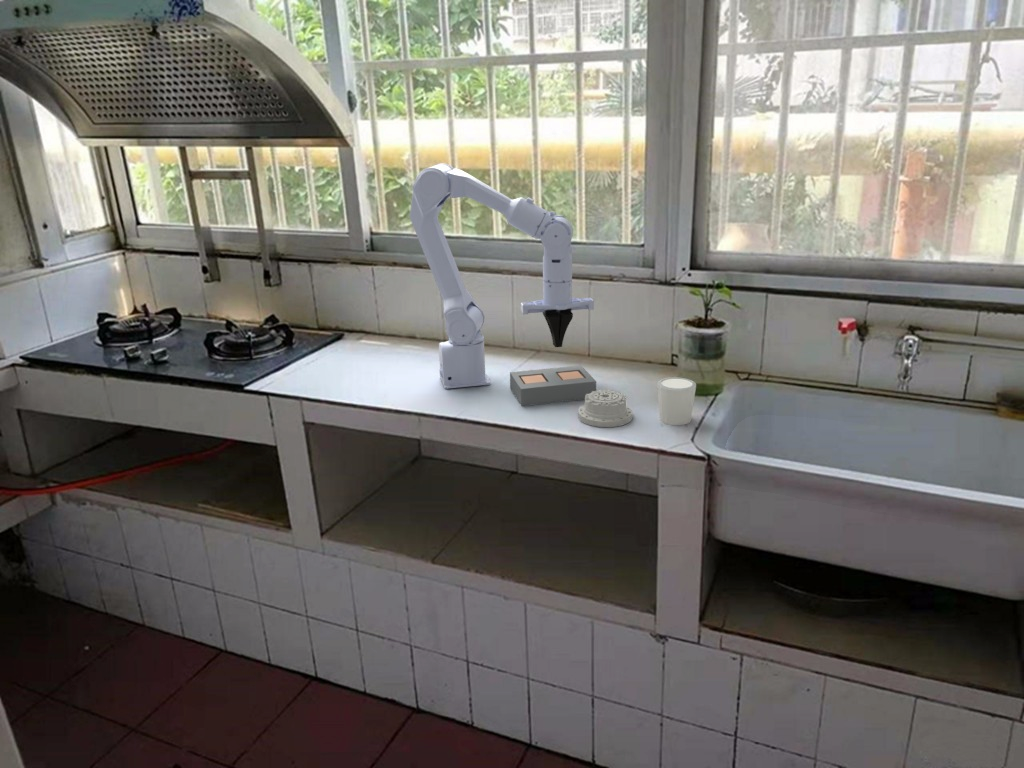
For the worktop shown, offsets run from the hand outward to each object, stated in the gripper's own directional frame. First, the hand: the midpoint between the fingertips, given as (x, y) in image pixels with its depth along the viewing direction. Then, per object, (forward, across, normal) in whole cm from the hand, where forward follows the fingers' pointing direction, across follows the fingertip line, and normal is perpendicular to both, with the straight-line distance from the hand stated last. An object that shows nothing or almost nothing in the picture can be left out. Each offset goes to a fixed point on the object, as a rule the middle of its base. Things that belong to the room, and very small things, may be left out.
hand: (557, 345), depth 161 cm
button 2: (+8, +1, -5) cm, 10 cm away
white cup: (+8, +16, -24) cm, 30 cm away
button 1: (+8, -6, -5) cm, 11 cm away
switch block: (+8, -2, -5) cm, 10 cm away
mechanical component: (+8, +4, -20) cm, 22 cm away
